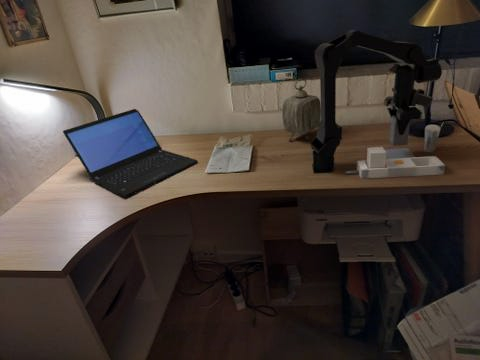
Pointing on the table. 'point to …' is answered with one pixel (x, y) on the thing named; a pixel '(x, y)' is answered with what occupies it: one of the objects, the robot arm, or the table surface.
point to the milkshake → (431, 137)
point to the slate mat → (398, 153)
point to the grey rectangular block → (394, 134)
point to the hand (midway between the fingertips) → (399, 132)
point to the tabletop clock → (301, 112)
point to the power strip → (401, 168)
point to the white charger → (376, 157)
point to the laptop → (123, 153)
